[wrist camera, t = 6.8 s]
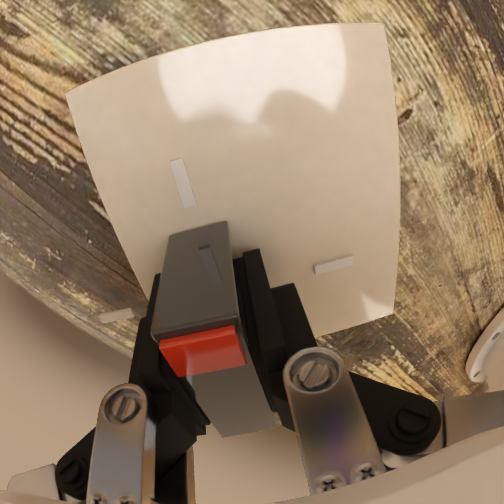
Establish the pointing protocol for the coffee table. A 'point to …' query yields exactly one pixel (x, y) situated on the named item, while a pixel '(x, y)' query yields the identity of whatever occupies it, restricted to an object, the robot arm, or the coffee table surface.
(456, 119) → the coffee table surface
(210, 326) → the red-striped grey block
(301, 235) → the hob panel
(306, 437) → the robot arm
